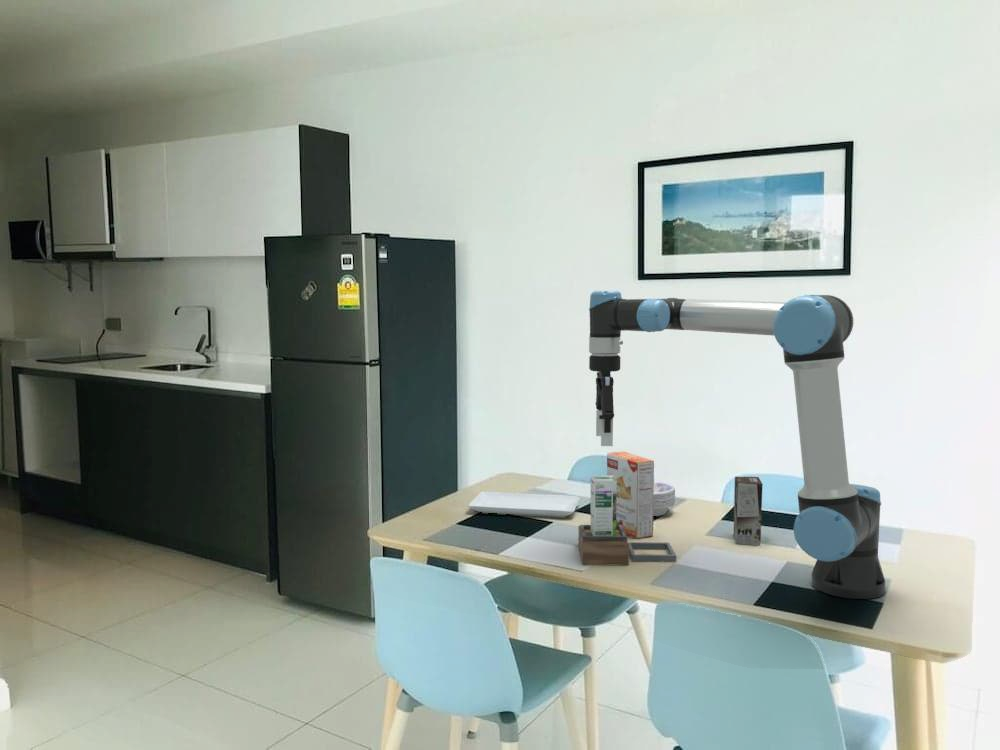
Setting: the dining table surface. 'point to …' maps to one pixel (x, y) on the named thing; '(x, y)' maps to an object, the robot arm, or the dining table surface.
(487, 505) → the tray
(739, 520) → the coffee box
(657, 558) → the low socket
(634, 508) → the cracker box
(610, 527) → the syrup box
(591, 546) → the raised socket stand
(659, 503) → the paper bowls
